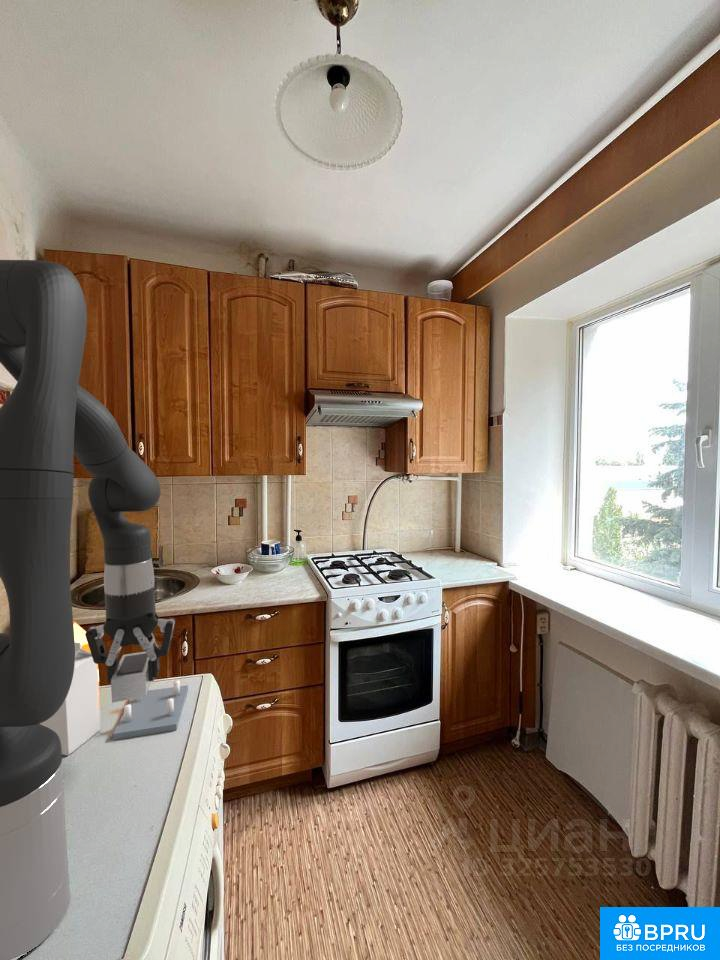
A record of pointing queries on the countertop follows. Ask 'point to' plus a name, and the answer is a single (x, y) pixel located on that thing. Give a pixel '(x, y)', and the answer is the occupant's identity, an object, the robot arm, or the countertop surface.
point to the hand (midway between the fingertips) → (134, 680)
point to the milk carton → (78, 705)
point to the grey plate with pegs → (152, 712)
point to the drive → (131, 677)
